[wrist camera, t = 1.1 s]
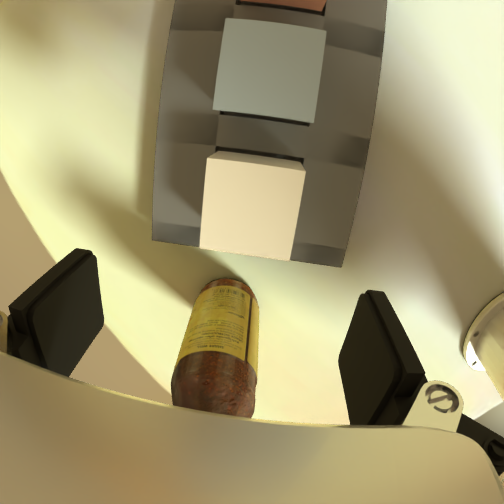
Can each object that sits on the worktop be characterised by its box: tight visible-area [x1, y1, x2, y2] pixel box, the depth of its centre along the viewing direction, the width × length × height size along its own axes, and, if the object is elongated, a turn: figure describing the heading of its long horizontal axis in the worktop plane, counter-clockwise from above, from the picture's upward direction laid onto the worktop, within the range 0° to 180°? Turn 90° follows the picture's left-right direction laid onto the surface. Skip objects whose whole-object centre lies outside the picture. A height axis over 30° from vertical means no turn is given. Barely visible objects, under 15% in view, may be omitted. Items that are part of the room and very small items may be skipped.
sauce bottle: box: [171, 278, 259, 418], centre depth 23 cm, size 6×6×20 cm
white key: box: [199, 151, 306, 261], centre depth 22 cm, size 6×6×4 cm
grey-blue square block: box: [213, 18, 327, 123], centre depth 18 cm, size 6×6×4 cm
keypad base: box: [152, 0, 387, 267], centre depth 22 cm, size 16×28×3 cm, turn 173°
